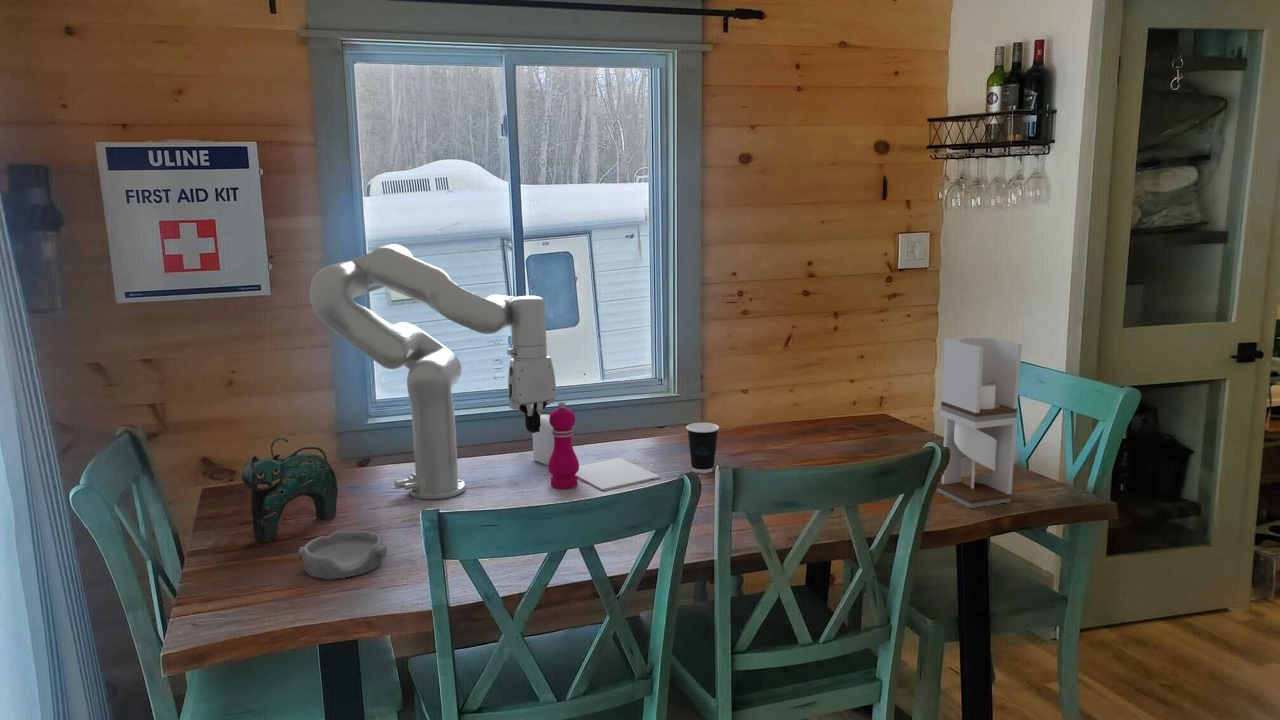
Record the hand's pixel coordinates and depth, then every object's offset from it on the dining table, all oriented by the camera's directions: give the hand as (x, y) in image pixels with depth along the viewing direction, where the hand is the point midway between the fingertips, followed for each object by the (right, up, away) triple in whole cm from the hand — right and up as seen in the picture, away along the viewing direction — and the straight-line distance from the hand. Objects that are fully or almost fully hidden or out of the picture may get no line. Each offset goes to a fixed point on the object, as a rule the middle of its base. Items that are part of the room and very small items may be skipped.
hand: (533, 431), depth 209 cm
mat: (+17, -12, +14) cm, 25 cm away
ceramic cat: (-47, -19, -18) cm, 54 cm away
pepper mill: (+6, -13, +7) cm, 16 cm away
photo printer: (+1, -10, +24) cm, 26 cm away
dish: (-31, -23, -37) cm, 53 cm away
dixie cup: (+40, -11, +16) cm, 44 cm away
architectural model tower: (+98, -15, -5) cm, 99 cm away
